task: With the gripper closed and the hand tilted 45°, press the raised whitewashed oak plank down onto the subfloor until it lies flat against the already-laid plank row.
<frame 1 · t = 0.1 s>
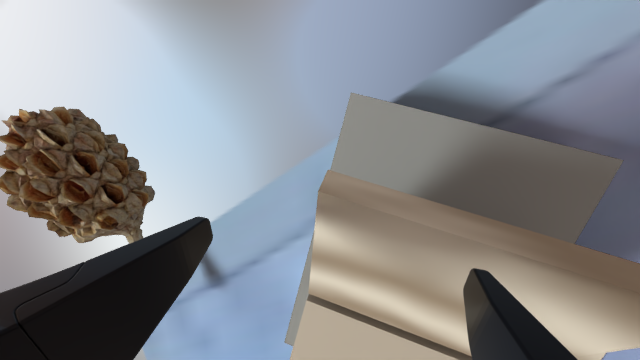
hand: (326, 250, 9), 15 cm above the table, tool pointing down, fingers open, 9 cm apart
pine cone: (148, 200, 30), on the table
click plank: (435, 292, 14), point 10 cm above the table, hinge at 35.0°
subfloor: (396, 276, 25), on the table
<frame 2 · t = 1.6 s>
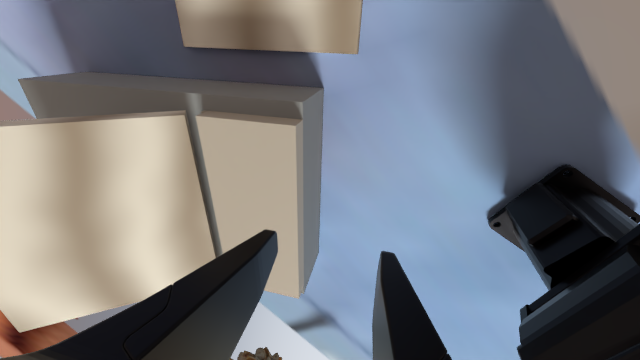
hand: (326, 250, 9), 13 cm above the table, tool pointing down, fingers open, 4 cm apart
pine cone: (279, 350, 38), on the table
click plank: (99, 225, 17), point 10 cm above the table, hinge at 35.0°
subfloor: (247, 173, 25), on the table
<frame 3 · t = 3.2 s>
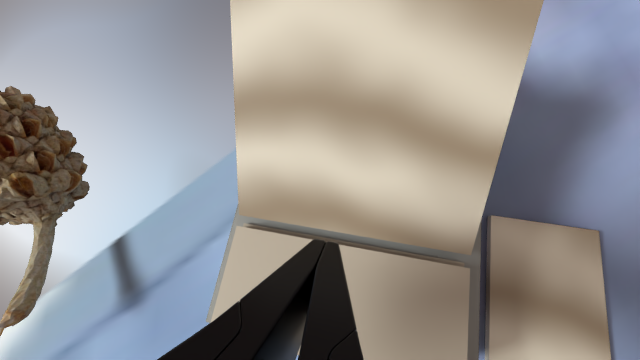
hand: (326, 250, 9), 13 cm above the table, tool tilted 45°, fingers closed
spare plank: (535, 314, 19), on the table
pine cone: (78, 208, 28), on the table
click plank: (357, 122, 14), point 10 cm above the table, hinge at 35.0°
subfloor: (350, 240, 22), on the table
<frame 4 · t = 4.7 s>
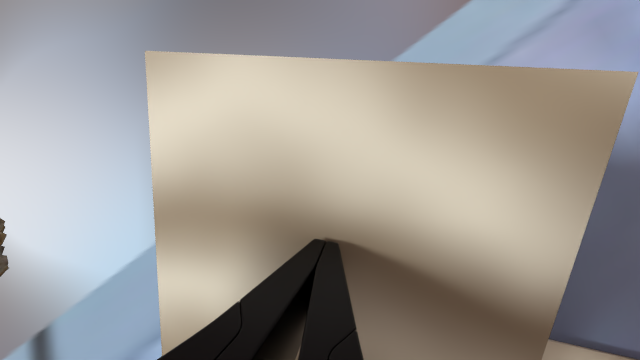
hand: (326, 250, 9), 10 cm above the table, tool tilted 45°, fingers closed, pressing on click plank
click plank: (329, 253, 10), point 9 cm above the table, hinge at 29.2°, touching gripper
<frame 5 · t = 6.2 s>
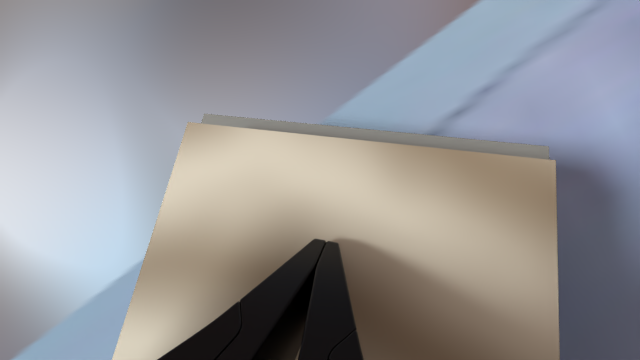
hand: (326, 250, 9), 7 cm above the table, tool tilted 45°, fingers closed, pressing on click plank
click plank: (318, 316, 9), point 6 cm above the table, hinge at 3.0°, touching gripper
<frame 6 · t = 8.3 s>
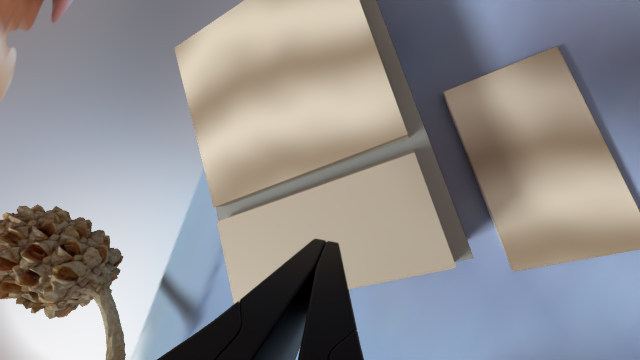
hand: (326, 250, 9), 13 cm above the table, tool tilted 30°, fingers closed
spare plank: (528, 161, 18), on the table
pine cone: (124, 271, 32), on the table
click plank: (274, 86, 18), point 6 cm above the table, hinge at 2.9°
subfloor: (331, 185, 23), on the table
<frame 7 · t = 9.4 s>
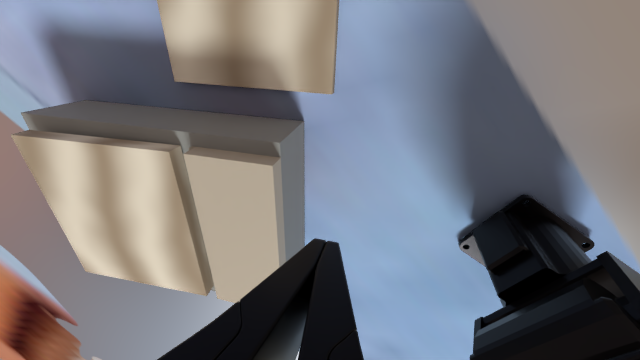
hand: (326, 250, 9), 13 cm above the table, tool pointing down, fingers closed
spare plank: (251, 35, 19), on the table
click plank: (125, 219, 22), point 6 cm above the table, hinge at 2.9°
subfloor: (236, 194, 26), on the table
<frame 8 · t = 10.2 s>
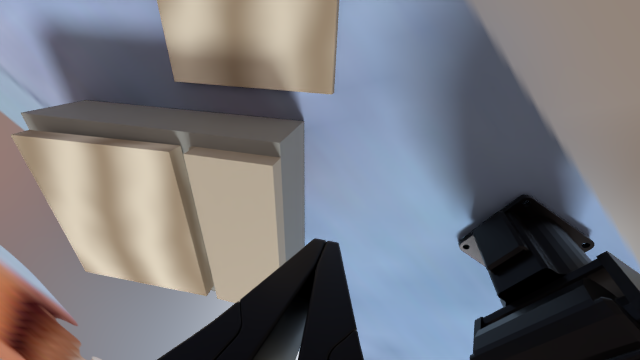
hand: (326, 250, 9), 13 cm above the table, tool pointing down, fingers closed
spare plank: (251, 35, 19), on the table
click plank: (125, 219, 22), point 6 cm above the table, hinge at 2.9°
subfloor: (236, 194, 26), on the table
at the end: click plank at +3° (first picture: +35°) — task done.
